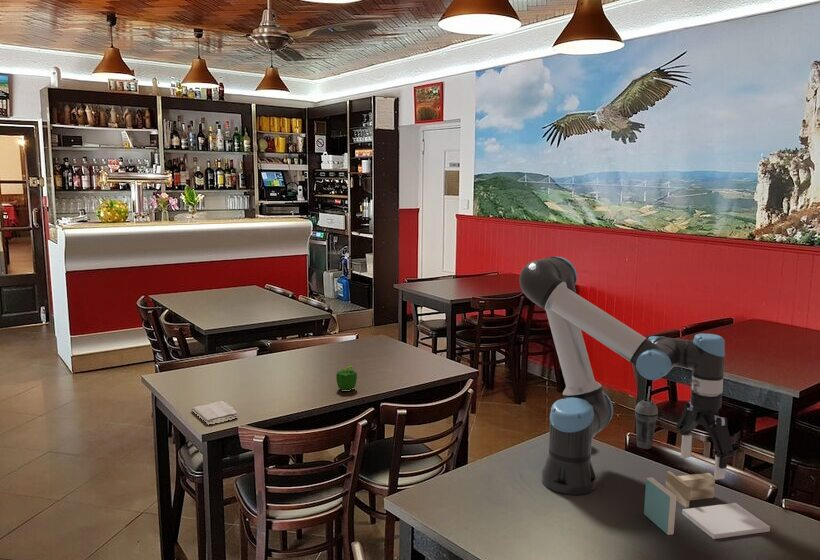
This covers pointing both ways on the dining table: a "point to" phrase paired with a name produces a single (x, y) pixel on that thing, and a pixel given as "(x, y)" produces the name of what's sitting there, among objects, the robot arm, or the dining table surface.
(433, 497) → the dining table surface
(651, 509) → the tile
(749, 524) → the board
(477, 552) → the dining table surface
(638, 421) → the beverage cup
